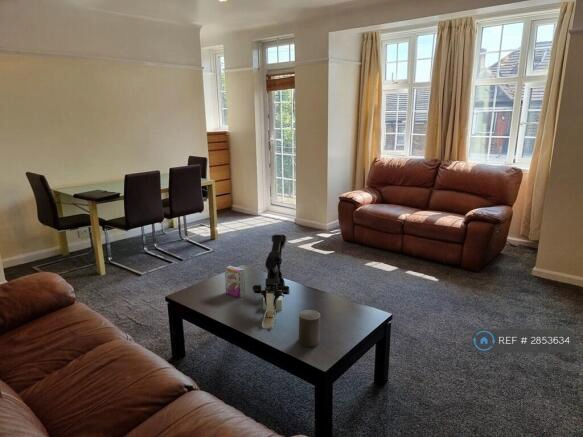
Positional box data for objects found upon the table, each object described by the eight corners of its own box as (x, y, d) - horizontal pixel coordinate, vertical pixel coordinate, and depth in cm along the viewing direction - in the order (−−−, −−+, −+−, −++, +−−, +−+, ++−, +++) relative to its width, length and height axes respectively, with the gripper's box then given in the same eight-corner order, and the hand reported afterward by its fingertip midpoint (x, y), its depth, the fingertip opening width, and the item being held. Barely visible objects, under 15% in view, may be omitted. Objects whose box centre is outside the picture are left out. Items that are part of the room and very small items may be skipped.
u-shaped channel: (266, 314, 214) (266, 309, 213) (276, 314, 214) (276, 309, 213) (262, 328, 200) (261, 322, 199) (272, 328, 200) (272, 323, 199)
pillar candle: (304, 349, 182) (304, 318, 179) (295, 338, 191) (295, 309, 187) (323, 344, 186) (324, 314, 182) (313, 334, 195) (314, 305, 191)
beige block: (270, 305, 222) (269, 283, 218) (276, 306, 221) (276, 283, 218) (266, 316, 210) (266, 293, 206) (273, 317, 209) (273, 293, 206)
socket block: (264, 305, 224) (264, 295, 223) (282, 306, 223) (282, 296, 222) (263, 309, 219) (263, 299, 218) (281, 310, 218) (281, 300, 217)
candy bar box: (225, 293, 239) (224, 267, 235) (231, 290, 243) (229, 265, 239) (240, 298, 233) (239, 271, 229) (245, 295, 237) (244, 268, 233)
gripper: (252, 270, 210) (249, 299, 202) (289, 271, 208) (286, 300, 200) (255, 278, 219) (252, 306, 211) (290, 279, 218) (288, 308, 210)
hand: (269, 305), depth 208 cm, fingers closed on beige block, 3 cm apart
